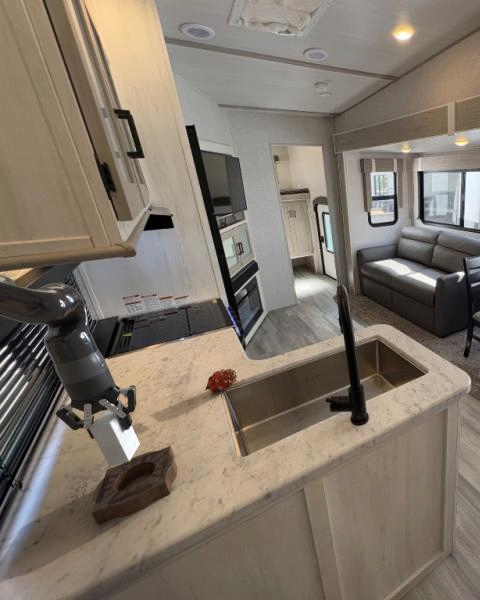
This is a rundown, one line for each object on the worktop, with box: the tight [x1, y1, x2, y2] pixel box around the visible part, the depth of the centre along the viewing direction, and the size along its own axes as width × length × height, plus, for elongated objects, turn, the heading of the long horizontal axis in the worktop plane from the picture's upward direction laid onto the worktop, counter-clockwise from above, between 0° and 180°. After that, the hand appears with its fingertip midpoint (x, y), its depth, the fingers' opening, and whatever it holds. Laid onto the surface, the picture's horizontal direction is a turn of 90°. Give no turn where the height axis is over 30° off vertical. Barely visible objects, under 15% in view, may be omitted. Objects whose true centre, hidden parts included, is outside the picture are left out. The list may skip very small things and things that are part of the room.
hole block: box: [90, 445, 178, 526], centre depth 80 cm, size 16×16×4 cm
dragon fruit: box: [204, 368, 238, 394], centre depth 118 cm, size 8×8×12 cm
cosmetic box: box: [89, 410, 141, 467], centre depth 74 cm, size 6×4×12 cm
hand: (113, 432), depth 74 cm, fingers closed on cosmetic box, 4 cm apart
